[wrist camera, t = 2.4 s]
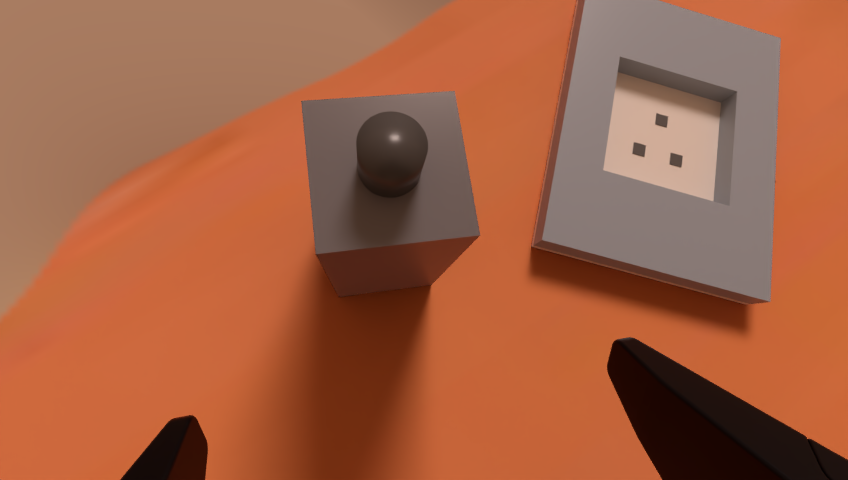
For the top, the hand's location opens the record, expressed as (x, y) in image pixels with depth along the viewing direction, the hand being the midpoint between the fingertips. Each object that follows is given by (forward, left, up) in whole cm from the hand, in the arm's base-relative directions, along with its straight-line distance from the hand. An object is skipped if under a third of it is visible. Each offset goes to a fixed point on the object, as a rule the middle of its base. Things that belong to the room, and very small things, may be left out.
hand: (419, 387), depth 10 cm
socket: (+15, -12, -12) cm, 23 cm away
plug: (+5, +2, -12) cm, 13 cm away
